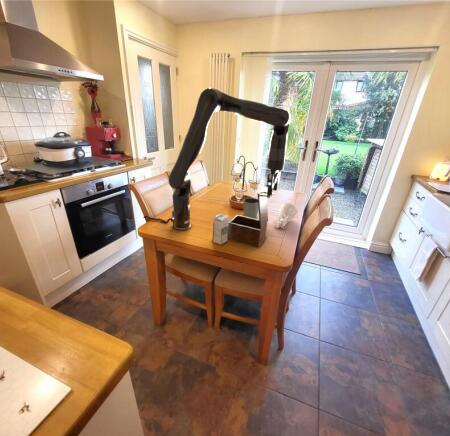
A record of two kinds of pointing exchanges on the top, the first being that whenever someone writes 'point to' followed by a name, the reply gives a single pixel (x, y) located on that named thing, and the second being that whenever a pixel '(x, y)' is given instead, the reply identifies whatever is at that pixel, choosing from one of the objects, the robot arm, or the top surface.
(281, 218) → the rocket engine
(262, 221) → the case lid
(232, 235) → the case
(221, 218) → the syrup box
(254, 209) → the grey cup
